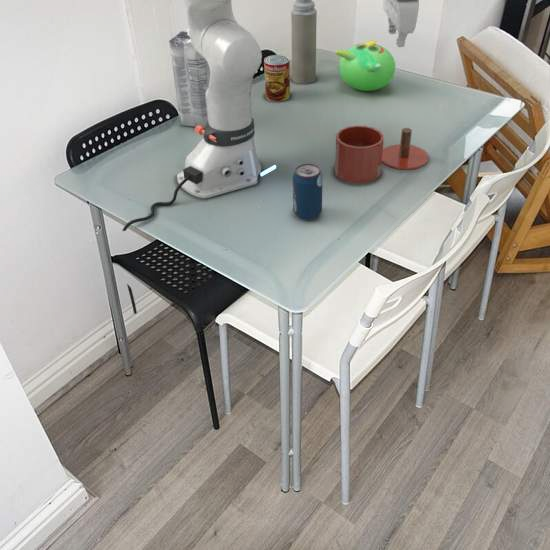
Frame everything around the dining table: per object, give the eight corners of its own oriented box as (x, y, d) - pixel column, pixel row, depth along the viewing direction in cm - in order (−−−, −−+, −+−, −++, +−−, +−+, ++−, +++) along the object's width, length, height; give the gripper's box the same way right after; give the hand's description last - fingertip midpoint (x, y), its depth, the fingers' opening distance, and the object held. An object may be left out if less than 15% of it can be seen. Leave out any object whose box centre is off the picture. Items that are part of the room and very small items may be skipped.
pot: (356, 190, 156) (358, 152, 150) (325, 171, 164) (326, 135, 157) (389, 174, 162) (393, 137, 155) (358, 156, 169) (360, 121, 162)
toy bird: (400, 84, 204) (405, 39, 195) (379, 104, 193) (383, 57, 184) (351, 74, 212) (353, 30, 202) (328, 92, 201) (329, 47, 192)
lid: (404, 177, 160) (407, 147, 155) (369, 158, 168) (371, 129, 163) (437, 161, 166) (442, 131, 160) (402, 143, 174) (405, 114, 168)
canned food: (262, 100, 198) (260, 63, 190) (269, 90, 204) (268, 53, 196) (286, 102, 196) (285, 65, 189) (292, 92, 202) (292, 55, 194)
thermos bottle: (293, 74, 213) (292, -13, 195) (316, 74, 213) (317, -13, 194) (291, 83, 207) (289, -5, 189) (315, 84, 206) (316, -5, 188)
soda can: (327, 212, 149) (329, 168, 141) (309, 225, 145) (309, 181, 138) (305, 202, 153) (305, 159, 145) (287, 214, 149) (286, 171, 141)
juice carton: (209, 131, 183) (199, 38, 166) (177, 126, 186) (164, 35, 168) (221, 118, 189) (213, 27, 172) (190, 113, 192) (178, 24, 175)
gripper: (379, -29, 158) (375, 26, 167) (397, -5, 143) (392, 54, 152) (404, -31, 159) (399, 25, 168) (424, -7, 143) (418, 53, 152)
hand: (396, 39), depth 160 cm, fingers open, 8 cm apart
